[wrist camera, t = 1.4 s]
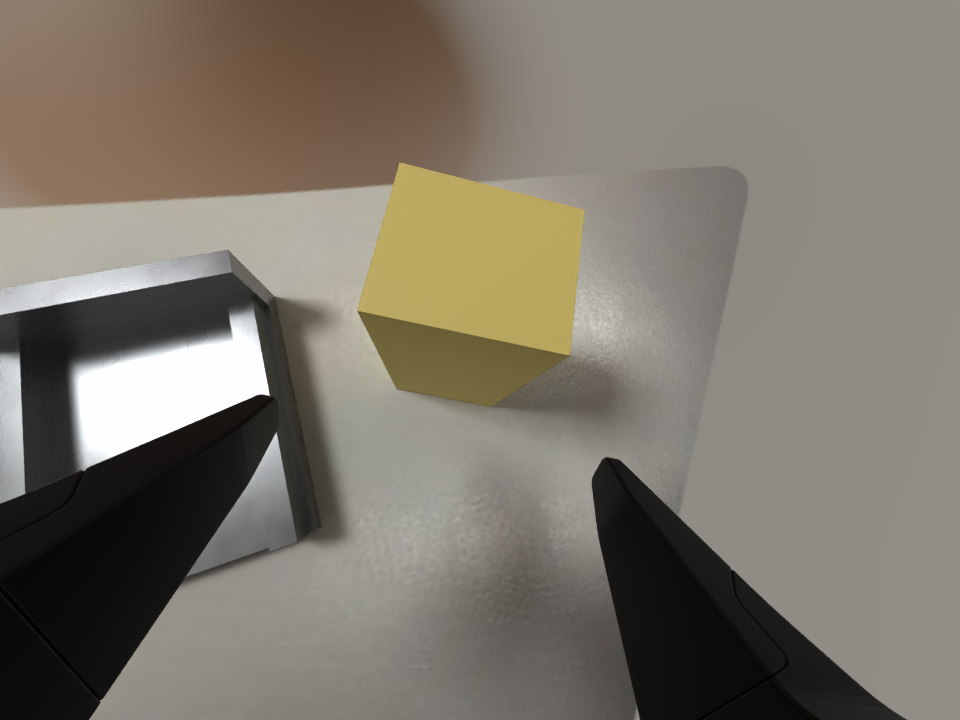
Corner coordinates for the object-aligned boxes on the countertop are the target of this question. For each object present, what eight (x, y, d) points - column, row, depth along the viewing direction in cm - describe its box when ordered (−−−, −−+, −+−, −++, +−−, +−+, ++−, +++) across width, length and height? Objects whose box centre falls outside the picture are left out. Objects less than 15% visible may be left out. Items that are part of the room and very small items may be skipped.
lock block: (491, 406, 22) (569, 355, 10) (396, 388, 21) (357, 310, 9) (502, 333, 23) (584, 209, 11) (414, 314, 23) (399, 162, 11)
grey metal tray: (320, 527, 19) (282, 555, 14) (55, 618, 16) (-111, 694, 11) (274, 296, 21) (228, 249, 16) (40, 343, 19) (-98, 305, 14)
